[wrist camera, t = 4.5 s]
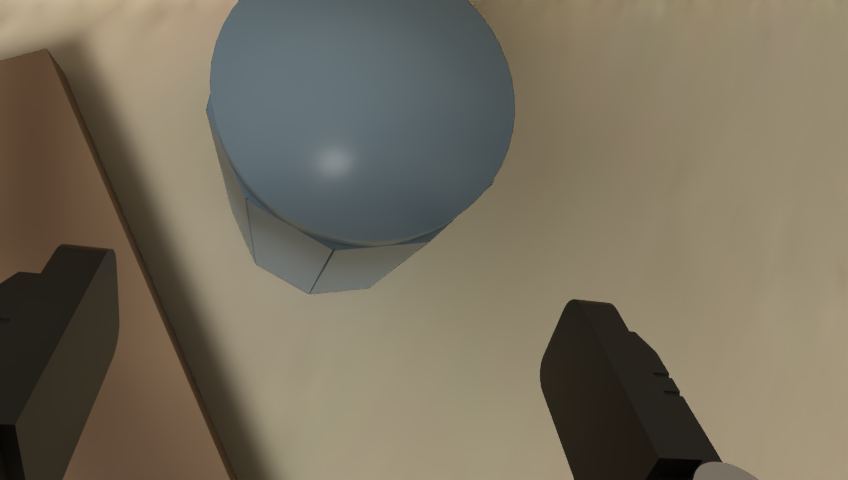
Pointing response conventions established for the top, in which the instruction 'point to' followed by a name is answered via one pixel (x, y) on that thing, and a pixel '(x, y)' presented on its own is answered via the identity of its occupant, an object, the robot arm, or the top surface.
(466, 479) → the top surface
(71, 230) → the post dock
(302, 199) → the blue-grey rounded cylinder
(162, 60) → the top surface
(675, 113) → the top surface
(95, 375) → the robot arm
